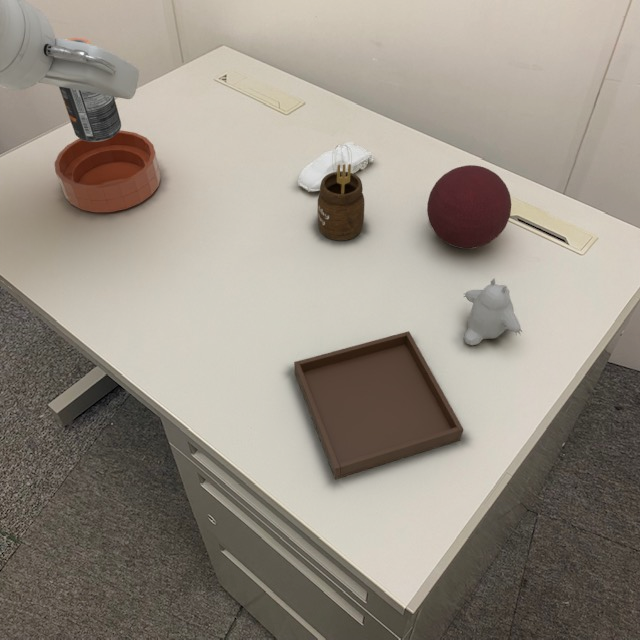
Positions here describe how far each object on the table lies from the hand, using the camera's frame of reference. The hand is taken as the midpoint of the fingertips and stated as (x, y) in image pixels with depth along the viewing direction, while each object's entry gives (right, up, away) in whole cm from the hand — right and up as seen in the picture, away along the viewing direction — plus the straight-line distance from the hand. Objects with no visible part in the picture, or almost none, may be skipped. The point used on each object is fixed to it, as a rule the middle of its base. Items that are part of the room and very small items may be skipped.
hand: (88, 85), depth 79 cm
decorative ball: (+47, -19, +3) cm, 50 cm away
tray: (+34, -38, -13) cm, 52 cm away
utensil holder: (+31, -17, +5) cm, 36 cm away
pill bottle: (0, -5, +4) cm, 6 cm away
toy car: (+30, -8, +13) cm, 34 cm away
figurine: (+47, -30, -7) cm, 56 cm away
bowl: (-1, -10, +11) cm, 15 cm away
